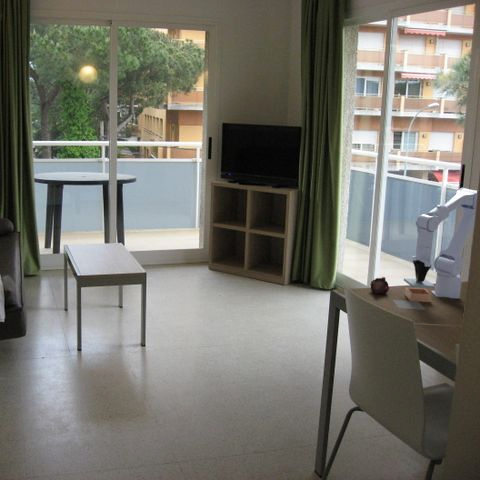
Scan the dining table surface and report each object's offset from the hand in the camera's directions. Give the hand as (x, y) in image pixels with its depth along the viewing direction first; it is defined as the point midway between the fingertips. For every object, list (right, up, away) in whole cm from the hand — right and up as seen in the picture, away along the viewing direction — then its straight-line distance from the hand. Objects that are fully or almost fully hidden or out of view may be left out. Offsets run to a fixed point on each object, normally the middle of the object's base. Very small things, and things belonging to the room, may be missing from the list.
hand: (419, 279), depth 266 cm
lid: (0, -2, 0) cm, 2 cm away
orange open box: (0, -8, +2) cm, 8 cm away
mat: (-6, -10, -7) cm, 14 cm away
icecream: (-15, -6, +6) cm, 17 cm away
